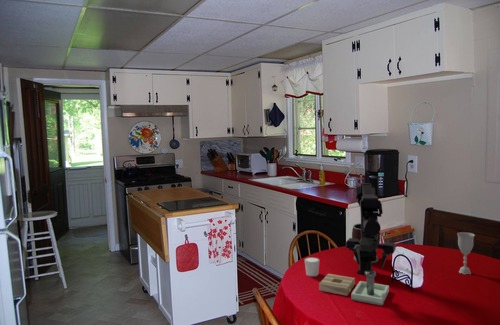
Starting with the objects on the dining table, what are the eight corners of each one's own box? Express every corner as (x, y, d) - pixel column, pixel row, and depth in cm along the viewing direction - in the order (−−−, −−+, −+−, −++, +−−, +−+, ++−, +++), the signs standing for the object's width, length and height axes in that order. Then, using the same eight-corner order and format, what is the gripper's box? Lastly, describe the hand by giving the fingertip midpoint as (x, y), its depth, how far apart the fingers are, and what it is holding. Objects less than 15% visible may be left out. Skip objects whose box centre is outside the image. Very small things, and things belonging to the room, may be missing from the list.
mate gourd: (379, 264, 195) (379, 225, 193) (350, 262, 200) (350, 223, 198) (380, 254, 209) (380, 217, 207) (354, 252, 214) (353, 216, 212)
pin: (366, 290, 165) (366, 269, 164) (377, 292, 163) (377, 271, 162) (363, 294, 161) (363, 273, 160) (374, 296, 159) (374, 275, 158)
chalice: (456, 274, 180) (457, 235, 178) (455, 269, 186) (456, 231, 185) (475, 276, 177) (476, 237, 176) (472, 270, 184) (473, 232, 182)
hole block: (328, 280, 179) (327, 273, 178) (354, 284, 173) (354, 278, 173) (319, 290, 168) (319, 283, 168) (347, 295, 162) (347, 288, 162)
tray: (359, 286, 171) (359, 280, 171) (388, 291, 165) (388, 285, 165) (351, 299, 159) (351, 293, 158) (382, 305, 153) (382, 299, 153)
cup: (319, 277, 183) (319, 262, 182) (304, 276, 184) (304, 261, 183) (319, 271, 189) (319, 257, 189) (305, 270, 191) (305, 256, 190)
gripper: (341, 231, 156) (342, 269, 158) (391, 236, 147) (391, 276, 149) (349, 224, 166) (349, 260, 168) (395, 228, 157) (395, 266, 159)
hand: (370, 266), depth 160 cm, fingers open, 9 cm apart
